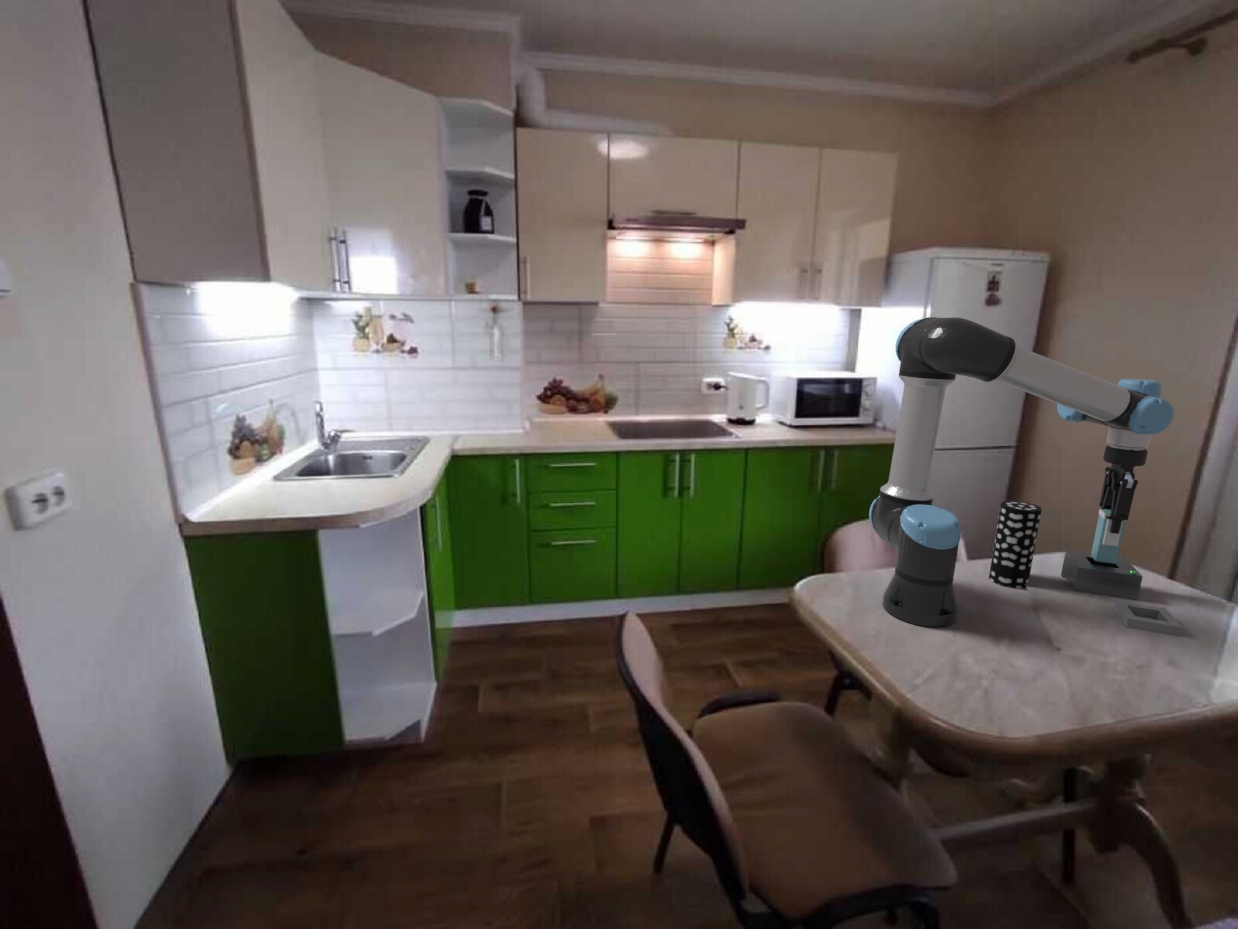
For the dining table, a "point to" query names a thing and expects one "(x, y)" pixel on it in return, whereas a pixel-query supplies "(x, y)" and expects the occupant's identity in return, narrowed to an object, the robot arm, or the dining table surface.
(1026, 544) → the spotted tube
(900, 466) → the robot arm
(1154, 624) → the square frame socket
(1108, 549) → the plug
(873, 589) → the dining table surface
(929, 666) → the dining table surface
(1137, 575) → the port
